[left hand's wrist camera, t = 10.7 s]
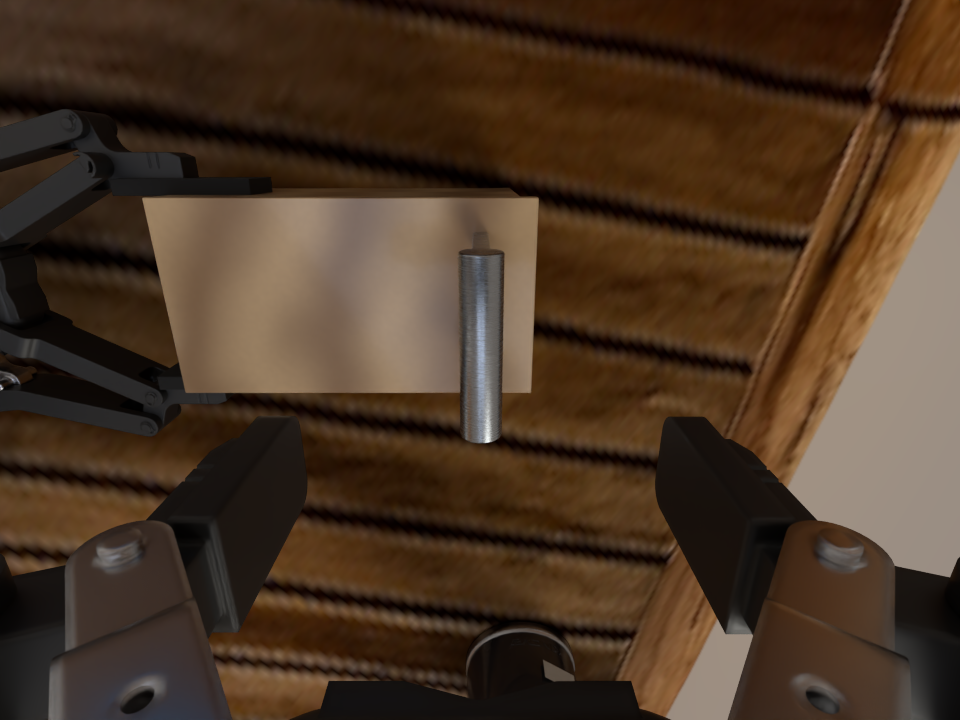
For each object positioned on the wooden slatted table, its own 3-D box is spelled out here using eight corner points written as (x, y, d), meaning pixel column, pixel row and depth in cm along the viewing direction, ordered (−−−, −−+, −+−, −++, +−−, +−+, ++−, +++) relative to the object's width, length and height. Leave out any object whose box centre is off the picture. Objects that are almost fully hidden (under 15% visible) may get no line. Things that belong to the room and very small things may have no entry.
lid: (536, 196, 23) (564, 211, 15) (529, 386, 26) (549, 475, 19) (152, 196, 23) (-6, 212, 15) (194, 386, 26) (79, 475, 19)
